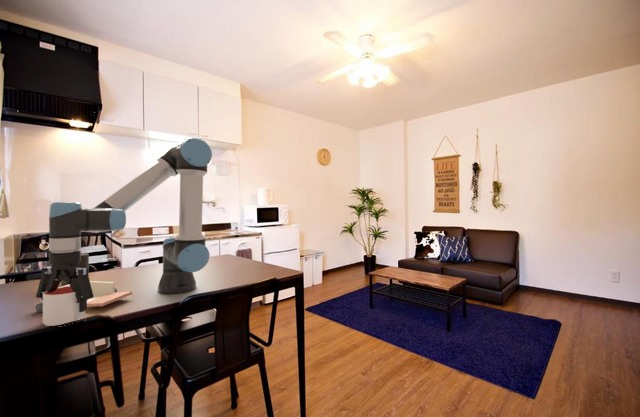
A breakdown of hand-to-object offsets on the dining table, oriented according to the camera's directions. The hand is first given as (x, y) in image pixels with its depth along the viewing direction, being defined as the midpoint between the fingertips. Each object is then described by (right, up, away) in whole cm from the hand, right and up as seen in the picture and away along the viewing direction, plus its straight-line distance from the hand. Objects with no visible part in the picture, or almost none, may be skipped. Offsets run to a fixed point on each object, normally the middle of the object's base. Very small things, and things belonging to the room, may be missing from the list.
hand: (64, 320), depth 90 cm
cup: (0, 0, 0) cm, 0 cm away
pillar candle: (-32, 0, +41) cm, 52 cm away
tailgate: (-2, +2, +16) cm, 16 cm away
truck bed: (-9, 0, +17) cm, 19 cm away
